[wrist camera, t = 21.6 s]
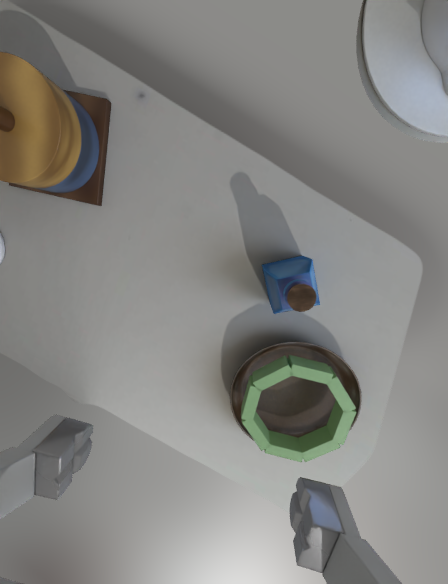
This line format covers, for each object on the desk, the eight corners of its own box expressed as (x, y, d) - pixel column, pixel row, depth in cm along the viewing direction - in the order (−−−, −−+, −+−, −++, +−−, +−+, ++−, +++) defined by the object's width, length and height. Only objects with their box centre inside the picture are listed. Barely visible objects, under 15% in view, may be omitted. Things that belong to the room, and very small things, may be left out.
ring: (359, 371, 38) (368, 382, 35) (327, 454, 42) (333, 470, 39) (257, 346, 38) (258, 355, 36) (234, 430, 42) (233, 445, 39)
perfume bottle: (301, 255, 38) (326, 264, 26) (308, 294, 39) (334, 318, 28) (261, 264, 39) (268, 277, 27) (269, 302, 40) (279, 329, 29)
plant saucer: (284, 459, 46) (287, 476, 43) (207, 384, 44) (204, 395, 41) (378, 395, 42) (389, 409, 39) (297, 308, 40) (301, 315, 37)
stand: (111, 103, 36) (37, 31, 23) (101, 206, 39) (32, 191, 27) (17, 83, 36) (-104, 3, 24) (15, 186, 40) (-92, 163, 27)
